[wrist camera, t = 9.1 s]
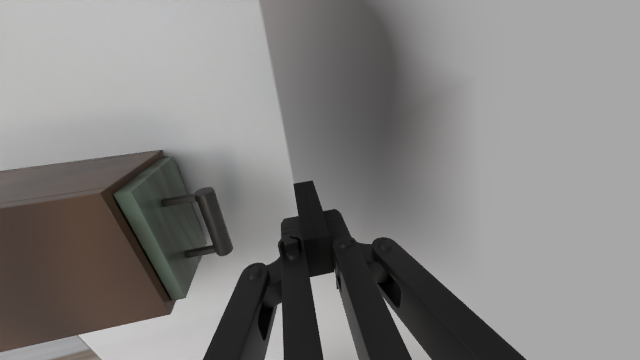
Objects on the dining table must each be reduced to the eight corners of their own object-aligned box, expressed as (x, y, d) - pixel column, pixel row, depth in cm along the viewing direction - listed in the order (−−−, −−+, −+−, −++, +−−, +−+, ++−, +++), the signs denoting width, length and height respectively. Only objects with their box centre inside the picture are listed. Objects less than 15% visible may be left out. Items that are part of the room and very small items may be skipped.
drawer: (217, 150, 24) (195, 181, 17) (243, 236, 29) (234, 287, 22) (20, 177, 21) (-101, 226, 14) (85, 265, 26) (18, 334, 19)
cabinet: (161, 149, 24) (99, 192, 15) (200, 243, 29) (170, 314, 21) (-3, 171, 22) (-182, 235, 13) (71, 267, 27) (-20, 356, 19)
